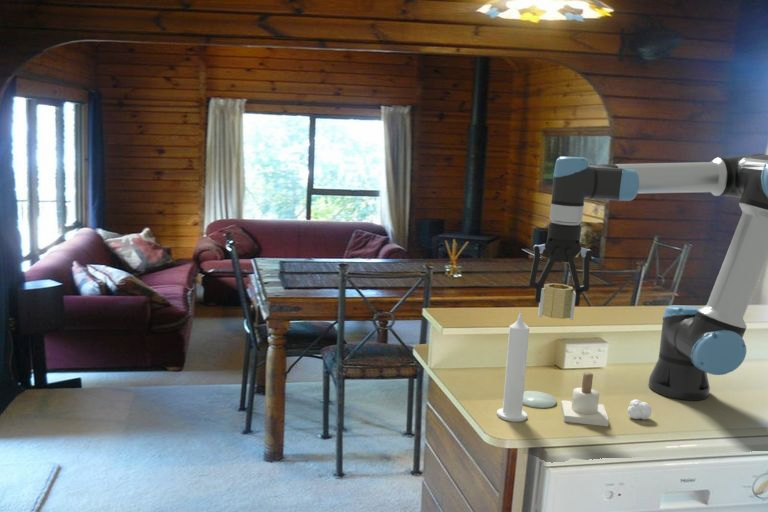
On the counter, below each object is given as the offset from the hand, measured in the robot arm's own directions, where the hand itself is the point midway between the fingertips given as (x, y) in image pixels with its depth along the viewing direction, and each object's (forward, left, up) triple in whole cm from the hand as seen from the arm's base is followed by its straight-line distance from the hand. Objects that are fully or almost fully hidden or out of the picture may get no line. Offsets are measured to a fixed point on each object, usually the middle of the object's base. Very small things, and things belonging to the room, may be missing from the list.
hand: (555, 316), depth 179 cm
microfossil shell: (-21, +2, -23) cm, 31 cm away
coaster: (+3, -2, -22) cm, 23 cm away
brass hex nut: (0, 0, +1) cm, 1 cm away
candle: (+9, +10, -23) cm, 26 cm away
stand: (-8, +5, -22) cm, 24 cm away
